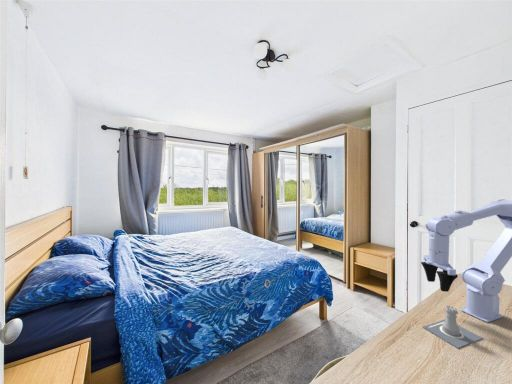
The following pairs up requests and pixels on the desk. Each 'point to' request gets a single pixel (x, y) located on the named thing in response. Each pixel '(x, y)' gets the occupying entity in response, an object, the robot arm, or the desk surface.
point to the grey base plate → (456, 341)
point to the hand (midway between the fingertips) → (437, 285)
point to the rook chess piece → (451, 321)
